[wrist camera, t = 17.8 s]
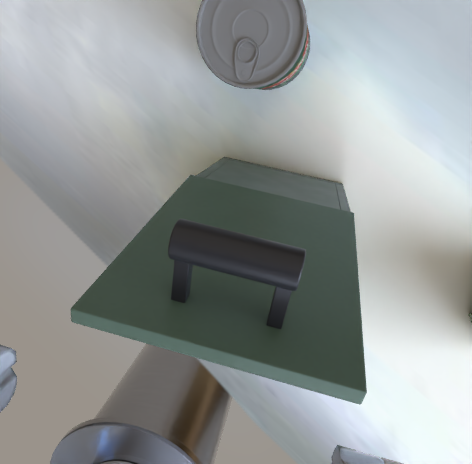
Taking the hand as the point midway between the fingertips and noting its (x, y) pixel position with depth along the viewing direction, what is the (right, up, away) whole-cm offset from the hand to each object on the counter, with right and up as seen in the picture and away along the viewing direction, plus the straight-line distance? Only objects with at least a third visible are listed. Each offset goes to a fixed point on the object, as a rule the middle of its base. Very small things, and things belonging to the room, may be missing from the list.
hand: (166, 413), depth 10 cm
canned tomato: (+5, +22, +29) cm, 37 cm away
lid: (+2, +3, +14) cm, 15 cm away
